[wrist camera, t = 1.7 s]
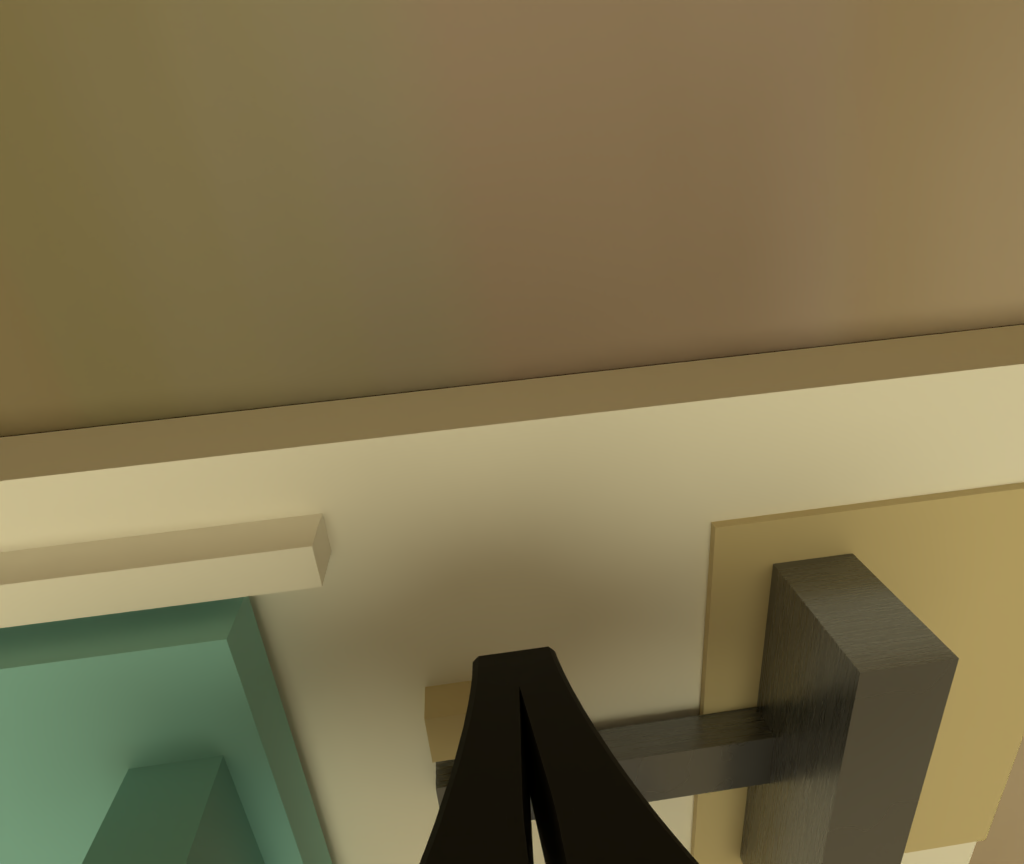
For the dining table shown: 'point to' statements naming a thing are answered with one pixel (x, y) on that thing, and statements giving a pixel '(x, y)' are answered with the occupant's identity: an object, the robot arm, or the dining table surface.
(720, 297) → the dining table surface
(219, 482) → the board
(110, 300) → the dining table surface
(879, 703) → the t key
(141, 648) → the cover
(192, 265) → the dining table surface
